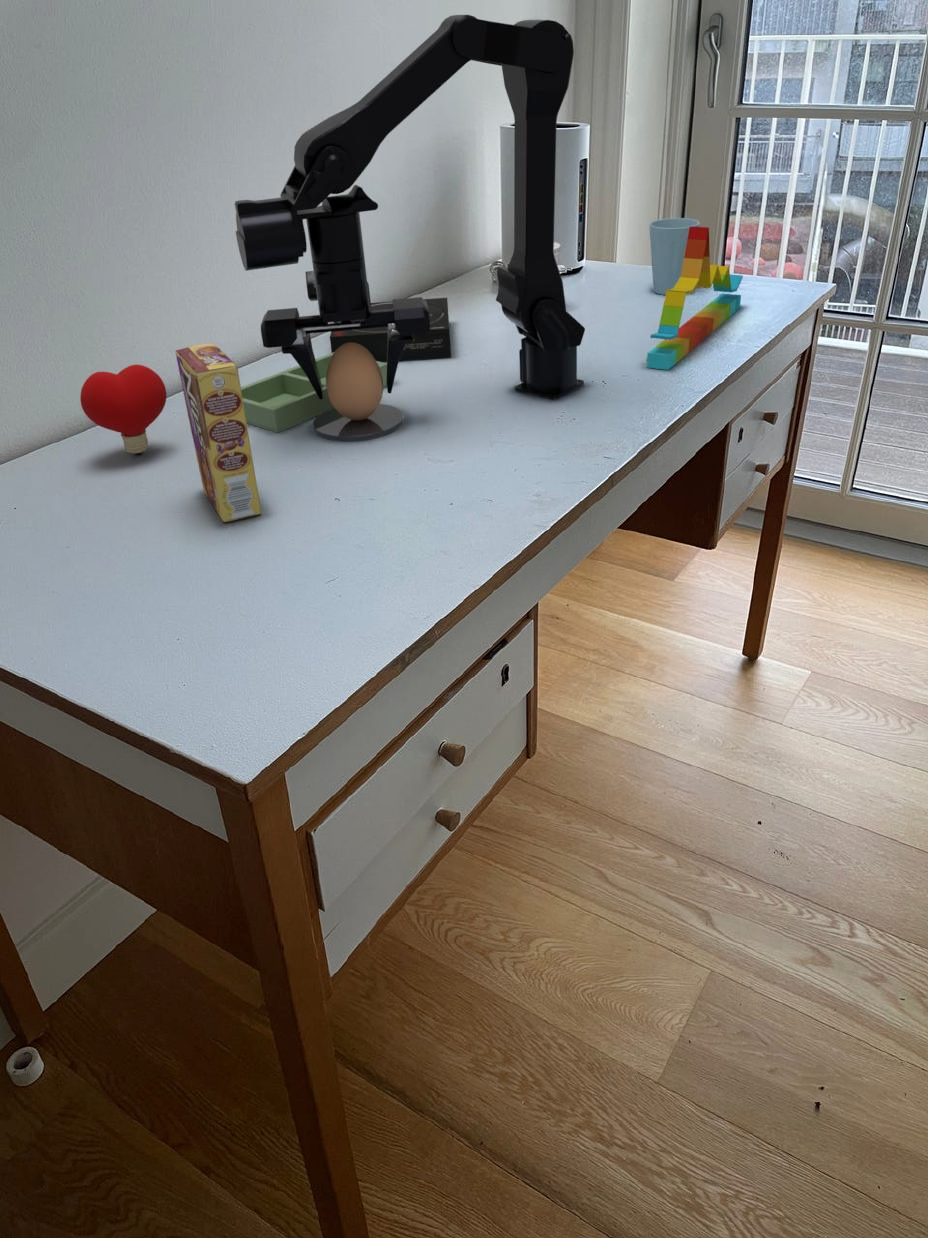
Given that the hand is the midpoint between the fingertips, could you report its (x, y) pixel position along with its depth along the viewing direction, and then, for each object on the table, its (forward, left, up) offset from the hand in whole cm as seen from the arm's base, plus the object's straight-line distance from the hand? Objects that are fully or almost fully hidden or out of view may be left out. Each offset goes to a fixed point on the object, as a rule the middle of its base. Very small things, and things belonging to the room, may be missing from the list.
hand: (355, 395), depth 115 cm
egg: (0, 0, -3) cm, 3 cm away
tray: (+12, -2, -4) cm, 12 cm away
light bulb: (+16, +21, -4) cm, 26 cm away
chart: (-17, -49, -4) cm, 53 cm away
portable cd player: (+19, -25, -4) cm, 32 cm away
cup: (-2, -68, -4) cm, 69 cm away
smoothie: (+10, -49, -4) cm, 51 cm away
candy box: (-4, +23, -4) cm, 23 cm away
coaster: (0, 0, -4) cm, 4 cm away
